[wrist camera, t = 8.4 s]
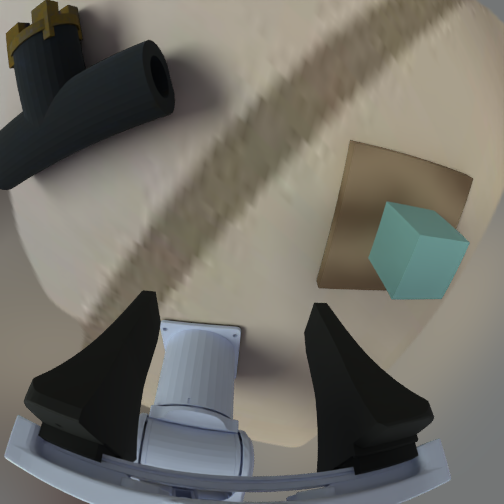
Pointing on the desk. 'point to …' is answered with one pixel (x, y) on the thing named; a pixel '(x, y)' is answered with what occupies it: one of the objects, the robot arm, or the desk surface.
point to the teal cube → (416, 252)
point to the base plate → (382, 208)
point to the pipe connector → (74, 92)
